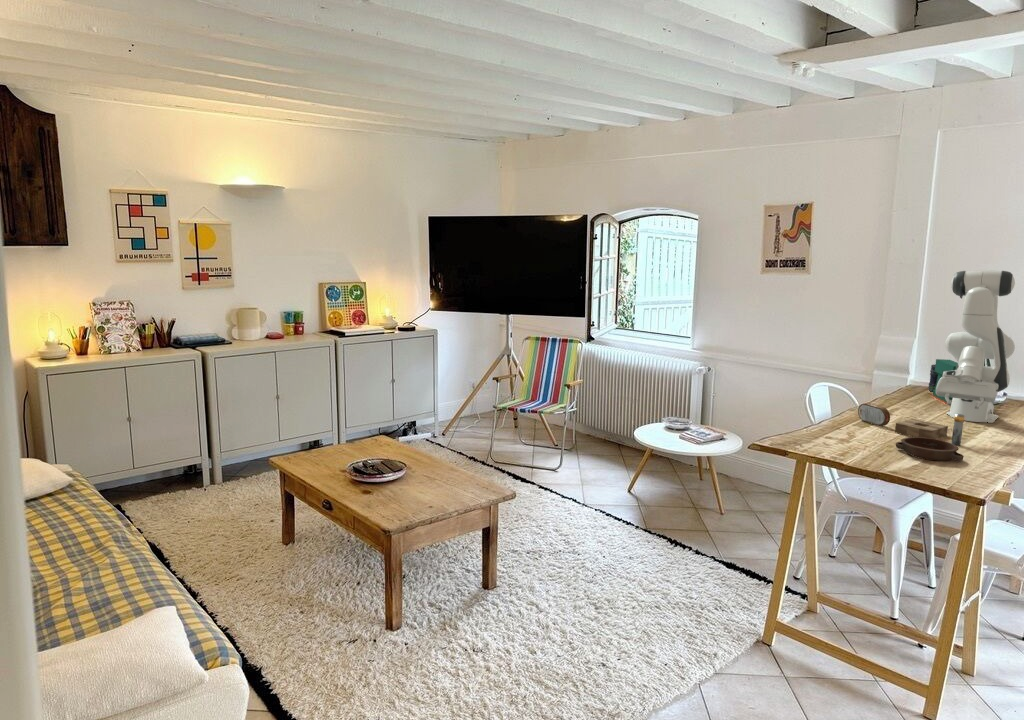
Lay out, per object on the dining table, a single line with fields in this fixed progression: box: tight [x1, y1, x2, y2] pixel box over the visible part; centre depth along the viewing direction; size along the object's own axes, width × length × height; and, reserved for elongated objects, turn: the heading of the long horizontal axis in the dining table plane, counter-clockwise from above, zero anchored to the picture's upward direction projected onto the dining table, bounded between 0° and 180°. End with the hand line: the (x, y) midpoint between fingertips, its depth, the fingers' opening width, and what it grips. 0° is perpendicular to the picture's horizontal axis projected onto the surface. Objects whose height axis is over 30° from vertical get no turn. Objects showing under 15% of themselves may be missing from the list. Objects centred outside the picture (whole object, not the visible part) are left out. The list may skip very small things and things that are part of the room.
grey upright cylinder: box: [951, 414, 965, 447], centre depth 270 cm, size 3×3×12 cm
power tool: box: [930, 358, 958, 404], centre depth 341 cm, size 32×7×20 cm, turn 168°
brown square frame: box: [894, 418, 949, 440], centre depth 285 cm, size 14×14×4 cm
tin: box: [857, 402, 891, 427], centre depth 301 cm, size 15×3×8 cm, turn 20°
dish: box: [895, 436, 964, 462], centre depth 256 cm, size 18×22×5 cm
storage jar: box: [927, 364, 939, 392], centre depth 365 cm, size 10×10×15 cm
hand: (962, 406), depth 274 cm, fingers open, 8 cm apart
